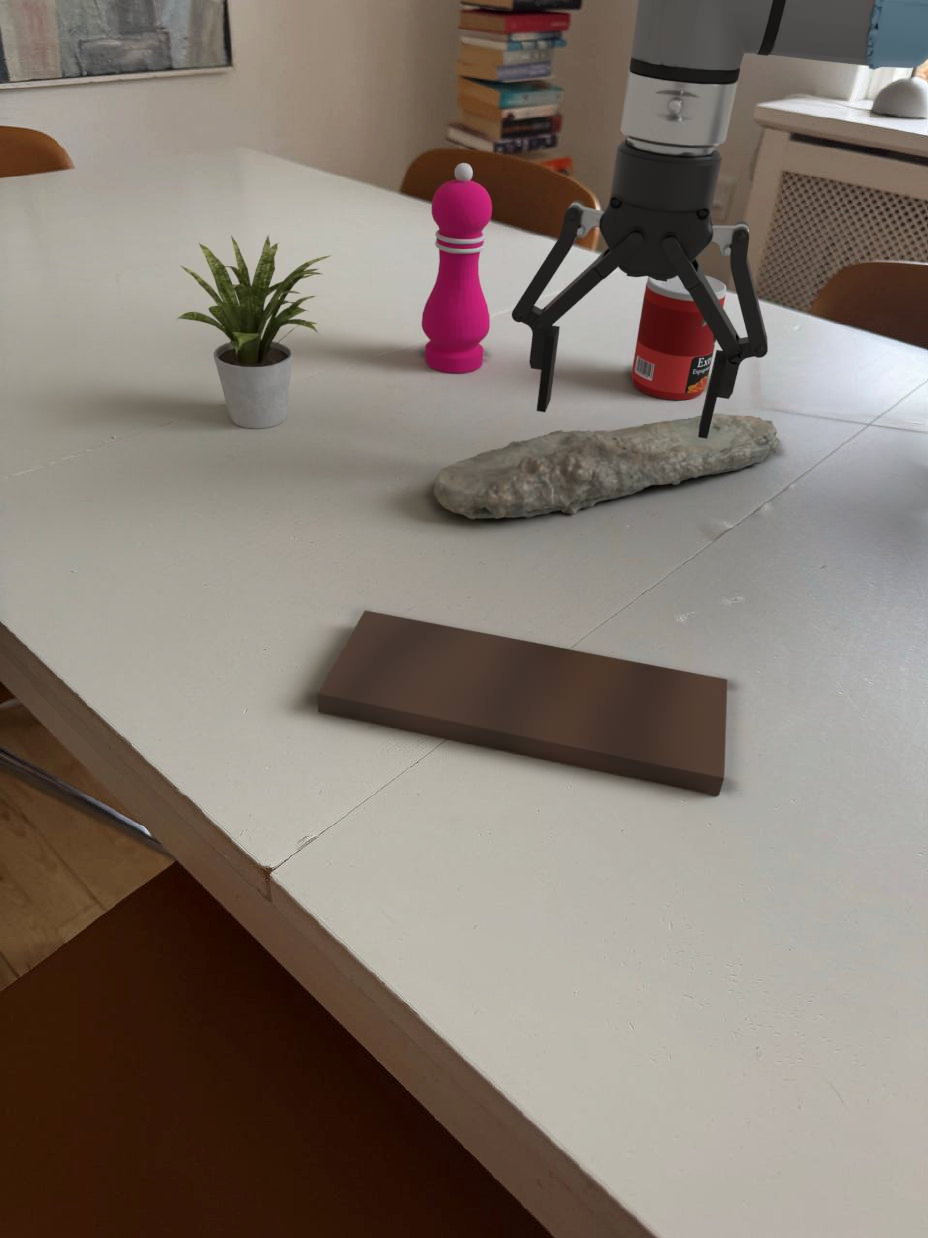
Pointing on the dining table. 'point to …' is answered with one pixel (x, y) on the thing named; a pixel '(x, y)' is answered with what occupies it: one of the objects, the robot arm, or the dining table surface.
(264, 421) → the house plant
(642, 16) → the robot arm
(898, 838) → the dining table surface
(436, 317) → the pepper mill
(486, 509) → the elongated rock
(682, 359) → the canned food
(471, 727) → the bread board
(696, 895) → the dining table surface
